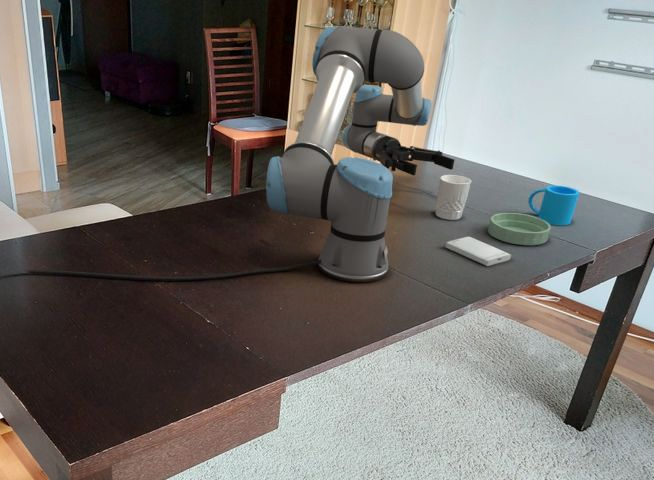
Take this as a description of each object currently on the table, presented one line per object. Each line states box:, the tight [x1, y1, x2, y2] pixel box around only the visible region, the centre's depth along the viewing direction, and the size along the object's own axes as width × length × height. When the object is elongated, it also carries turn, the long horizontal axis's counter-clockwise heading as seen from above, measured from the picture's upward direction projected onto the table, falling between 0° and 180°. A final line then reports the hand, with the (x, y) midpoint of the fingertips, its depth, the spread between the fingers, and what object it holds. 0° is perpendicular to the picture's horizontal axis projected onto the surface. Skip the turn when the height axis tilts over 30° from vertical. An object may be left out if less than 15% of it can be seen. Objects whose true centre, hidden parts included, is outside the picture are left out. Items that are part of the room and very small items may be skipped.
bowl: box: [487, 212, 552, 246], centre depth 170 cm, size 14×14×4 cm
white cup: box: [434, 174, 472, 221], centre depth 179 cm, size 8×8×10 cm
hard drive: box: [445, 236, 512, 267], centre depth 159 cm, size 2×8×12 cm
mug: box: [528, 184, 581, 226], centre depth 181 cm, size 12×8×8 cm
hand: (434, 167), depth 182 cm, fingers open, 13 cm apart
